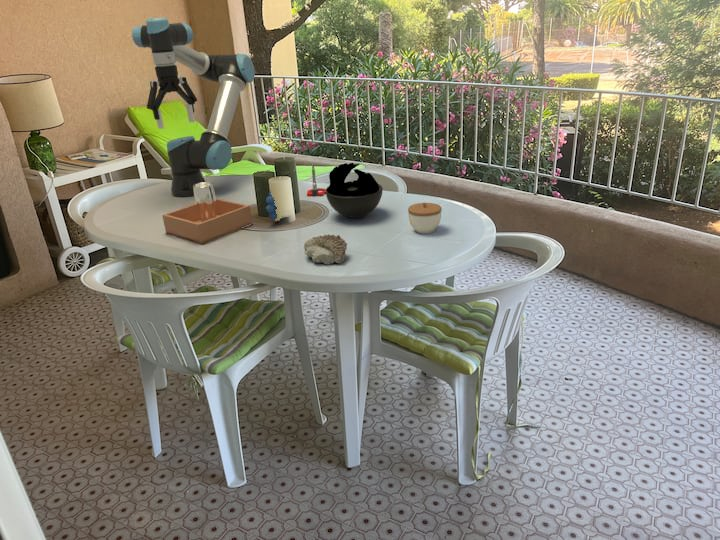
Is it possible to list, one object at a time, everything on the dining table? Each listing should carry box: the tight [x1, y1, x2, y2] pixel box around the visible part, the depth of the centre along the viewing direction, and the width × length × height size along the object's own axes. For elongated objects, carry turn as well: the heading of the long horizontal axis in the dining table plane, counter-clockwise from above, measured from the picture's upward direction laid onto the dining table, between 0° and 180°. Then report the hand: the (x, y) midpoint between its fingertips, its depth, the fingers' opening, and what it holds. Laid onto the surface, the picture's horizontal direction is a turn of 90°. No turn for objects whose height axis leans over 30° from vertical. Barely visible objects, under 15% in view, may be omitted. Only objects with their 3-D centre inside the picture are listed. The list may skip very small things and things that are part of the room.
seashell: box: [303, 234, 348, 266], centre depth 163 cm, size 14×9×10 cm
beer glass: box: [193, 181, 217, 222], centre depth 191 cm, size 7×7×15 cm
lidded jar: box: [407, 201, 443, 234], centre depth 179 cm, size 11×11×9 cm
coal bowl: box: [325, 162, 384, 219], centre depth 194 cm, size 20×20×19 cm
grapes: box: [265, 190, 277, 221], centre depth 194 cm, size 12×7×12 cm, turn 160°
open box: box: [161, 197, 253, 246], centre depth 192 cm, size 22×20×7 cm
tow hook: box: [306, 163, 327, 197], centre depth 224 cm, size 8×13×9 cm
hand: (177, 125), depth 207 cm, fingers open, 13 cm apart
